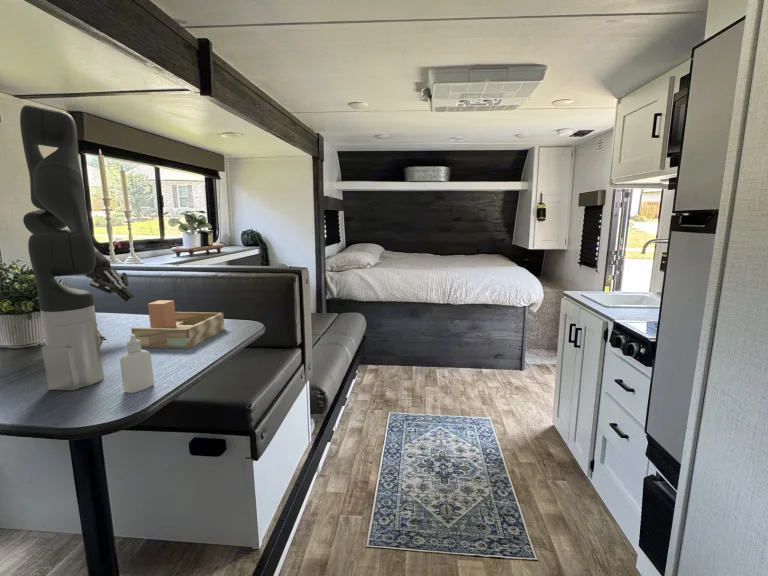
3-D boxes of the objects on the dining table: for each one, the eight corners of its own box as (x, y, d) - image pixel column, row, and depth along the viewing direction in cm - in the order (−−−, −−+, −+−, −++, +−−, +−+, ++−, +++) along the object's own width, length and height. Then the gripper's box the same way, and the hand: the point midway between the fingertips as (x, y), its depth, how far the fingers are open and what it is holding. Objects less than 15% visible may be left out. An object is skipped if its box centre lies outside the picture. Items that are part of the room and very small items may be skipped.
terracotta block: (166, 330, 120) (163, 304, 119) (150, 329, 121) (147, 303, 119) (176, 325, 125) (173, 300, 124) (161, 325, 126) (158, 300, 124)
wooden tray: (189, 348, 112) (187, 329, 111) (133, 347, 114) (131, 328, 113) (224, 329, 132) (223, 312, 131) (176, 327, 134) (174, 311, 133)
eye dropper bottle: (124, 387, 87) (117, 334, 85) (154, 382, 90) (147, 330, 87) (123, 395, 83) (116, 339, 81) (154, 389, 86) (148, 335, 84)
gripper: (76, 252, 114) (121, 295, 115) (111, 248, 127) (152, 287, 128) (61, 271, 116) (106, 313, 117) (98, 265, 129) (138, 303, 130)
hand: (130, 299), depth 122 cm, fingers closed
